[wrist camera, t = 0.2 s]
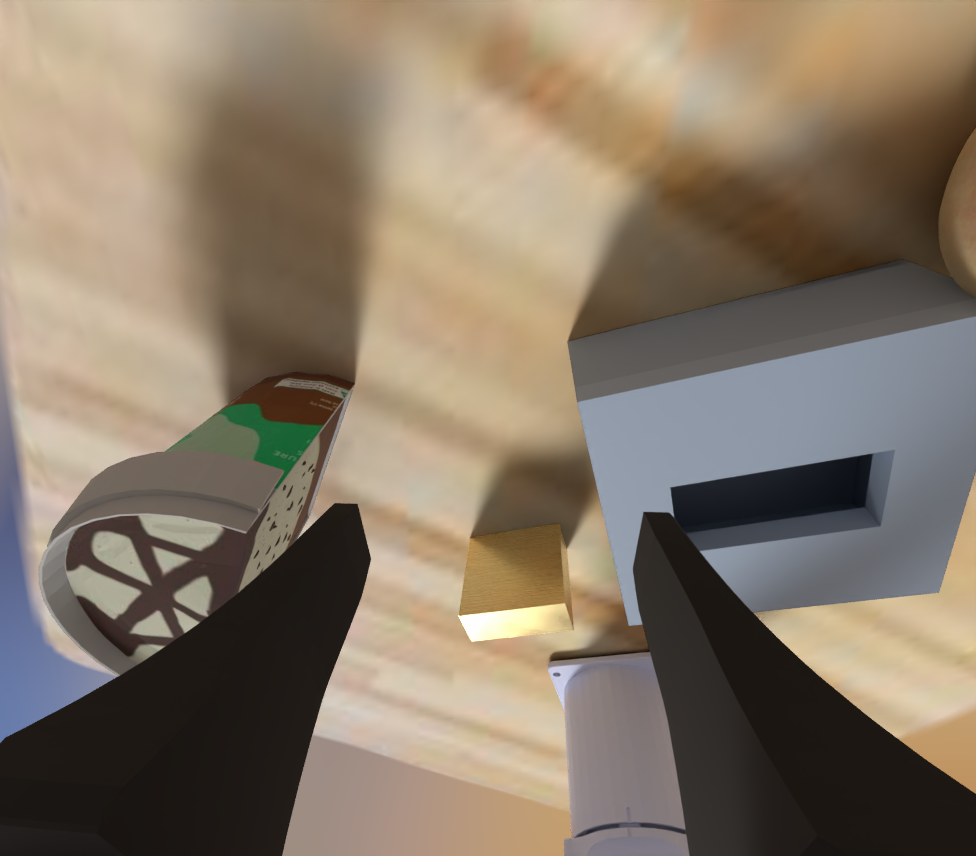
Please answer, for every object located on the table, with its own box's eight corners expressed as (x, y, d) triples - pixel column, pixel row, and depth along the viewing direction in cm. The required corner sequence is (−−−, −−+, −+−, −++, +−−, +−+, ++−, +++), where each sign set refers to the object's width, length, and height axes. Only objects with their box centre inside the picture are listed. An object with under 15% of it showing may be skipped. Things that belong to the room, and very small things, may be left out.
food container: (222, 294, 19) (-10, 425, 11) (364, 356, 21) (249, 519, 12) (194, 494, 26) (34, 671, 18) (303, 533, 27) (201, 718, 19)
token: (566, 548, 26) (573, 630, 22) (480, 561, 27) (471, 641, 23) (559, 522, 25) (564, 603, 21) (470, 537, 26) (458, 616, 22)
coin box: (864, 506, 23) (938, 592, 19) (612, 542, 25) (628, 625, 21) (902, 258, 17) (1026, 305, 13) (567, 341, 19) (577, 402, 15)
